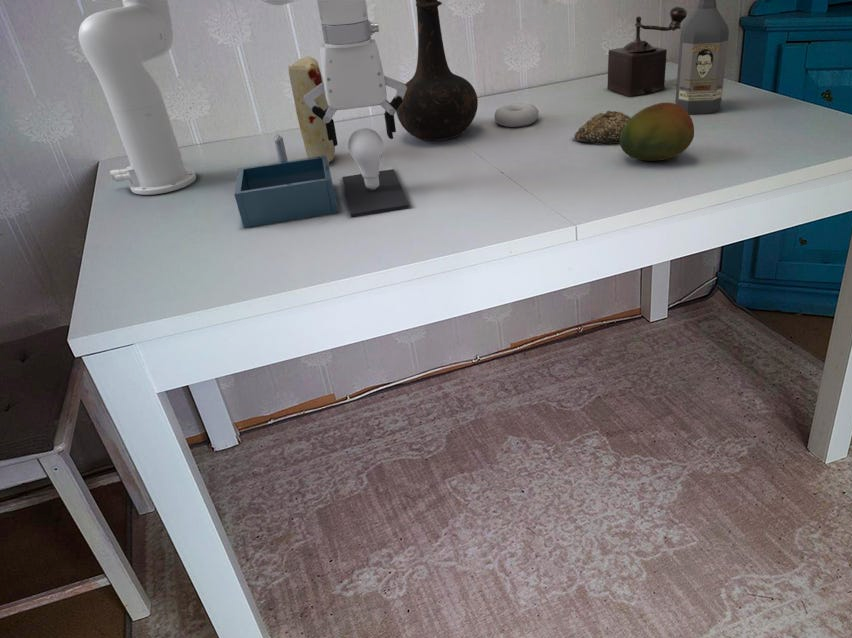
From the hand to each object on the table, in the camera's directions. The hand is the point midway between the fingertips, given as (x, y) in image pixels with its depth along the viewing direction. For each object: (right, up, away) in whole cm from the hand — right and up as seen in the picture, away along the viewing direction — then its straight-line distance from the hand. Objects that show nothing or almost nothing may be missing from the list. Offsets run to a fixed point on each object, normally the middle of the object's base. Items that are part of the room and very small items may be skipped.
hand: (362, 140), depth 122 cm
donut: (+29, +15, +36) cm, 49 cm away
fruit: (+53, -1, +8) cm, 54 cm away
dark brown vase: (+12, +11, +33) cm, 36 cm away
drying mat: (+1, -8, +5) cm, 10 cm away
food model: (-12, +3, +24) cm, 27 cm away
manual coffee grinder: (+62, +29, +52) cm, 86 cm away
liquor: (+69, +18, +34) cm, 79 cm away
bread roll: (+47, +8, +23) cm, 53 cm away
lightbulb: (+1, -8, +5) cm, 9 cm away
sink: (-14, -10, +4) cm, 17 cm away
